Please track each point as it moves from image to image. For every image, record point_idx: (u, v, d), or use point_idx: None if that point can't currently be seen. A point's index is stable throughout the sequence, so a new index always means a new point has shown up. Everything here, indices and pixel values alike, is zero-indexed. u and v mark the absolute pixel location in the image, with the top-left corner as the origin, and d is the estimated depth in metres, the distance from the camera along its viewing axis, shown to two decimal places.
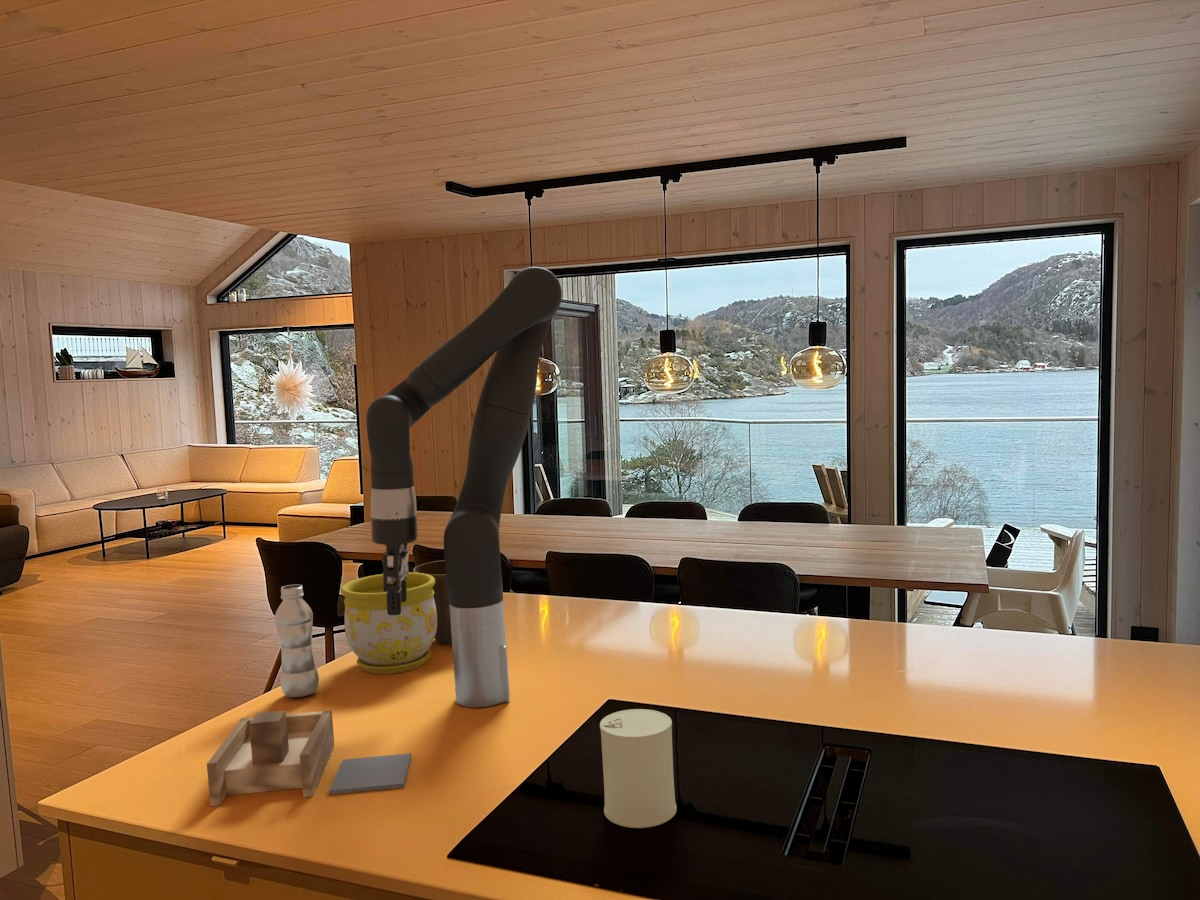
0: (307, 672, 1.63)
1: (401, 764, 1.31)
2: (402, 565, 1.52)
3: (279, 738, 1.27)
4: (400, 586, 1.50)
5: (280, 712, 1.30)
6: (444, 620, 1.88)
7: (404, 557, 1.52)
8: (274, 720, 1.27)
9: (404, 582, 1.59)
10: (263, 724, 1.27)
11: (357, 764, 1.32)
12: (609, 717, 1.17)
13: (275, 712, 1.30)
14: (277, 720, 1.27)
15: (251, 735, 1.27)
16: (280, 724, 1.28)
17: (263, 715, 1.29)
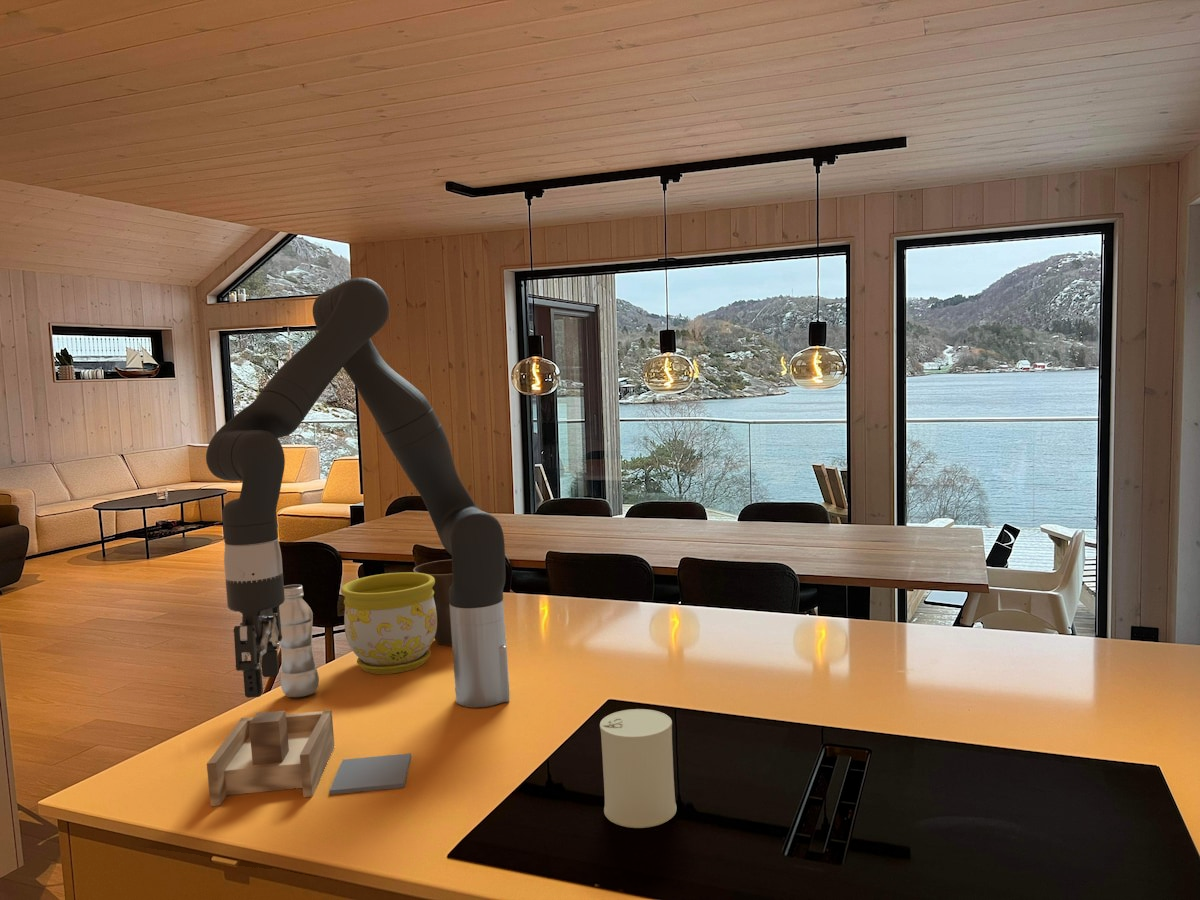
0: (307, 672, 1.63)
1: (401, 764, 1.31)
2: (263, 636, 1.25)
3: (279, 738, 1.27)
4: (259, 662, 1.23)
5: (280, 712, 1.30)
6: (444, 620, 1.88)
7: (266, 625, 1.26)
8: (274, 720, 1.27)
9: (274, 653, 1.32)
10: (263, 724, 1.27)
11: (357, 764, 1.32)
12: (609, 717, 1.17)
13: (275, 712, 1.30)
14: (277, 720, 1.27)
15: (251, 735, 1.27)
16: (280, 724, 1.28)
17: (263, 715, 1.29)
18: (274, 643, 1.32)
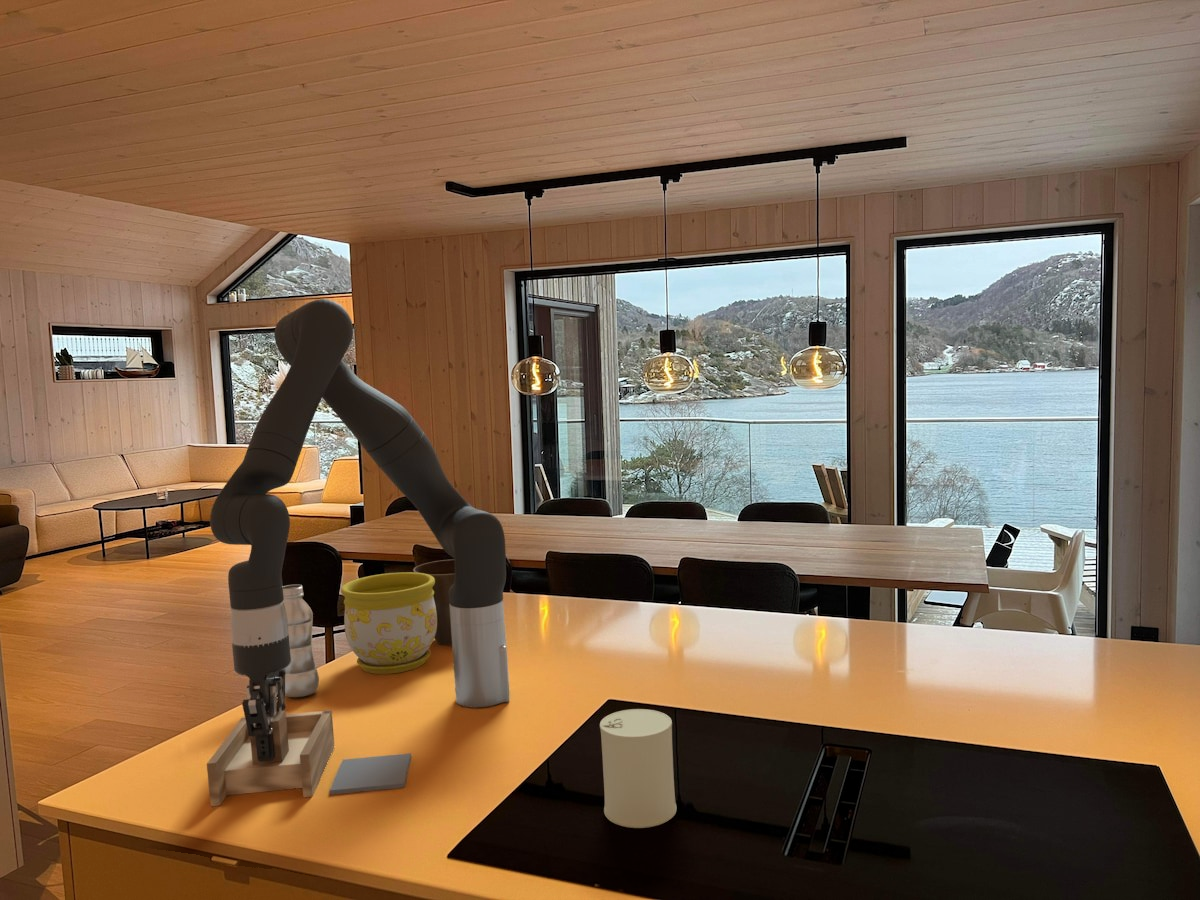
0: (307, 672, 1.63)
1: (401, 764, 1.31)
2: (271, 701, 1.26)
3: (279, 738, 1.27)
4: (271, 728, 1.26)
5: (280, 712, 1.30)
6: (444, 620, 1.88)
7: (273, 690, 1.27)
8: (274, 720, 1.27)
9: None
10: None
11: (357, 764, 1.32)
12: (609, 717, 1.17)
13: None
14: (277, 720, 1.27)
15: None
16: (280, 724, 1.28)
17: None
18: None
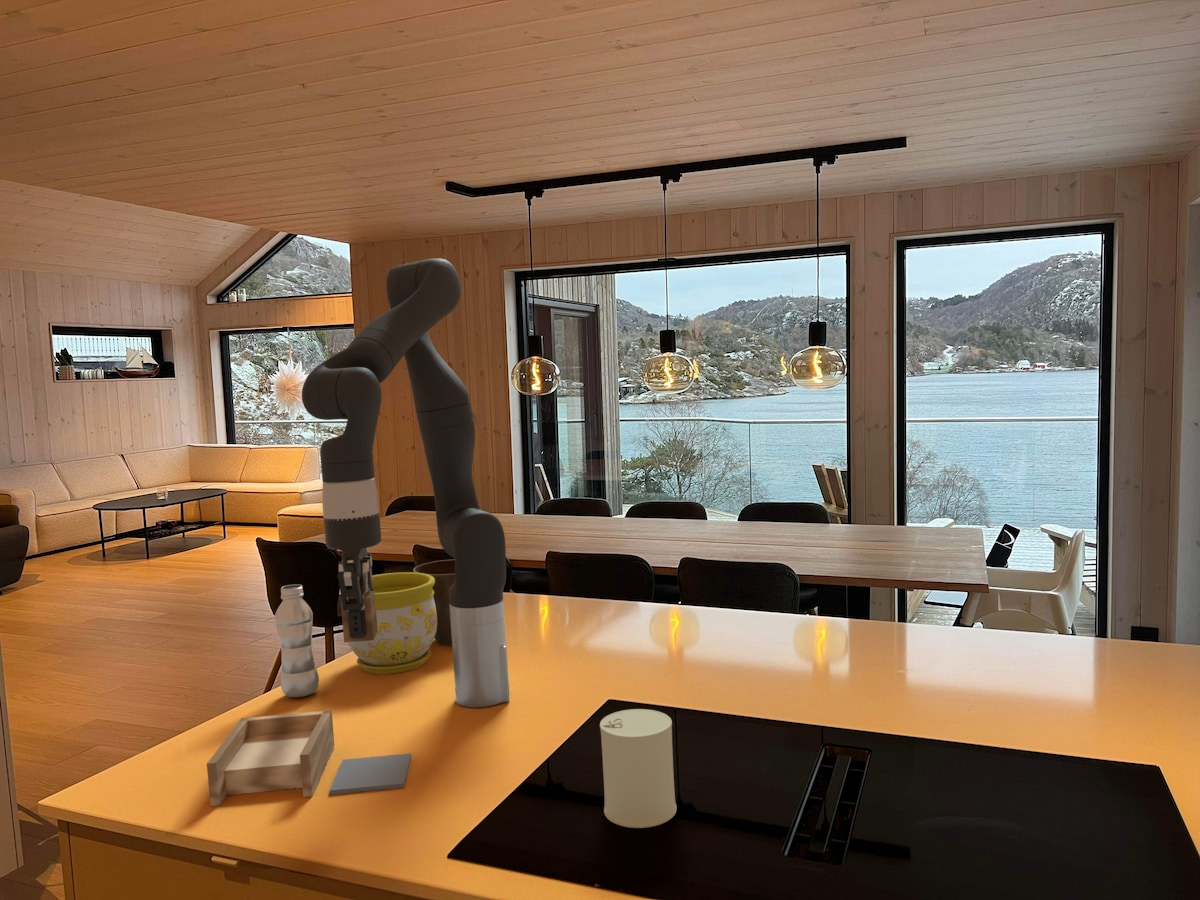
0: (307, 672, 1.63)
1: (401, 764, 1.31)
2: (364, 577, 1.25)
3: (370, 616, 1.26)
4: (363, 604, 1.25)
5: (369, 592, 1.29)
6: (444, 620, 1.88)
7: (365, 566, 1.25)
8: (365, 597, 1.26)
9: None
10: (355, 600, 1.26)
11: (357, 764, 1.32)
12: (609, 717, 1.17)
13: None
14: (368, 597, 1.26)
15: (343, 612, 1.26)
16: (371, 602, 1.27)
17: None
18: (367, 591, 1.30)
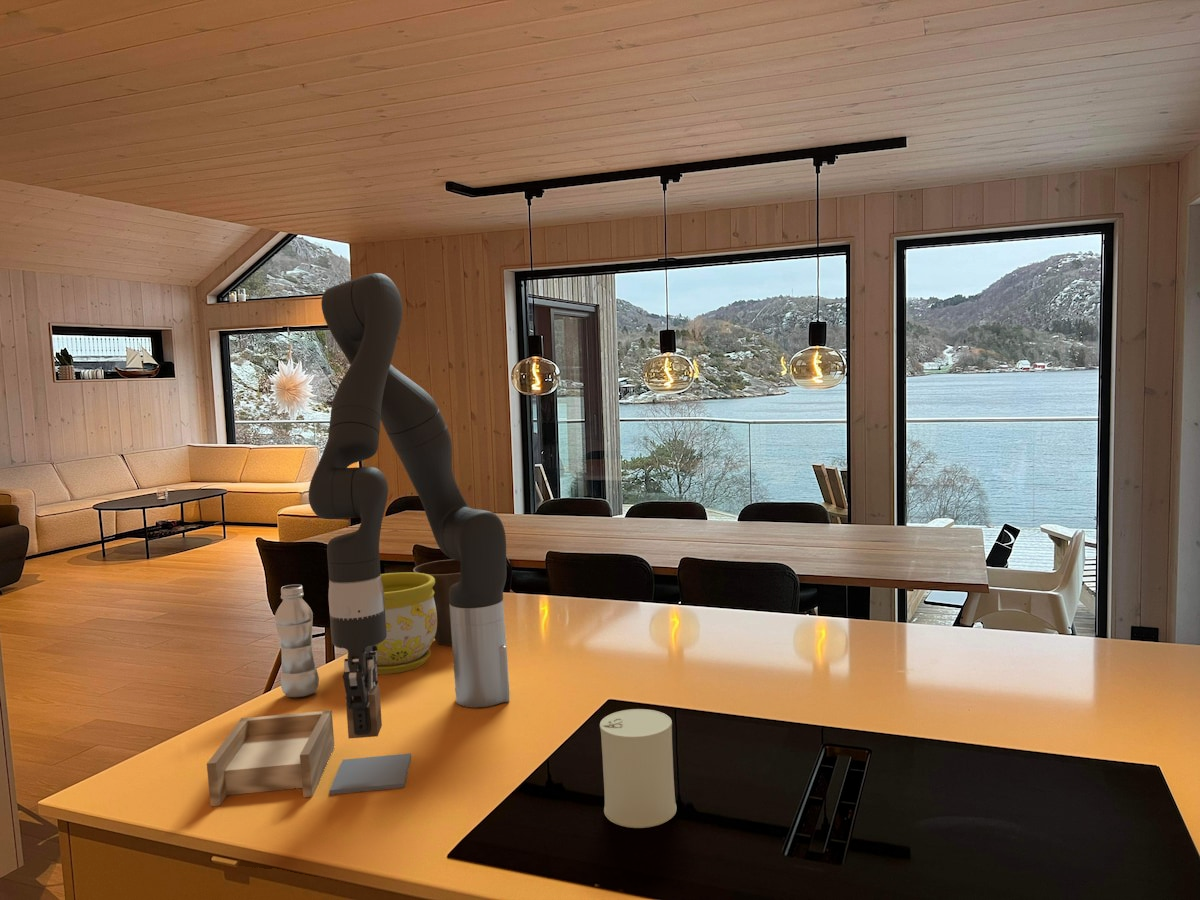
0: (307, 672, 1.63)
1: (401, 764, 1.31)
2: (369, 674, 1.26)
3: (375, 712, 1.27)
4: (368, 701, 1.26)
5: (374, 686, 1.30)
6: (444, 620, 1.88)
7: (371, 663, 1.27)
8: (370, 694, 1.27)
9: None
10: (359, 697, 1.27)
11: (357, 764, 1.32)
12: (609, 717, 1.17)
13: None
14: (373, 694, 1.27)
15: (347, 708, 1.27)
16: (376, 698, 1.28)
17: None
18: (372, 685, 1.31)
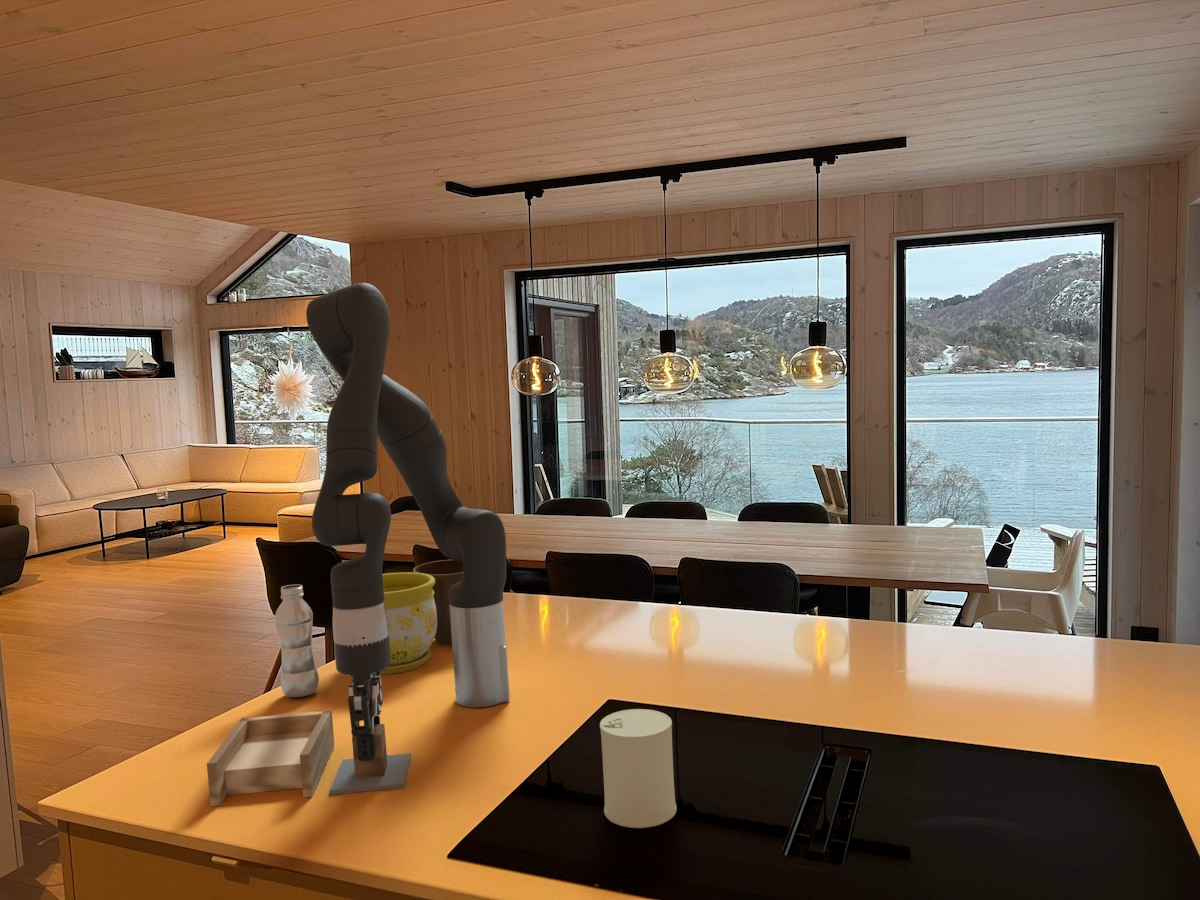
0: (307, 672, 1.63)
1: (401, 764, 1.31)
2: (373, 699, 1.26)
3: (381, 752, 1.28)
4: (372, 727, 1.26)
5: (380, 725, 1.31)
6: (444, 620, 1.88)
7: (375, 689, 1.27)
8: (376, 734, 1.28)
9: (377, 719, 1.32)
10: None
11: None
12: (609, 717, 1.17)
13: (374, 725, 1.31)
14: (379, 734, 1.28)
15: (354, 749, 1.27)
16: (382, 737, 1.28)
17: None
18: (377, 707, 1.32)
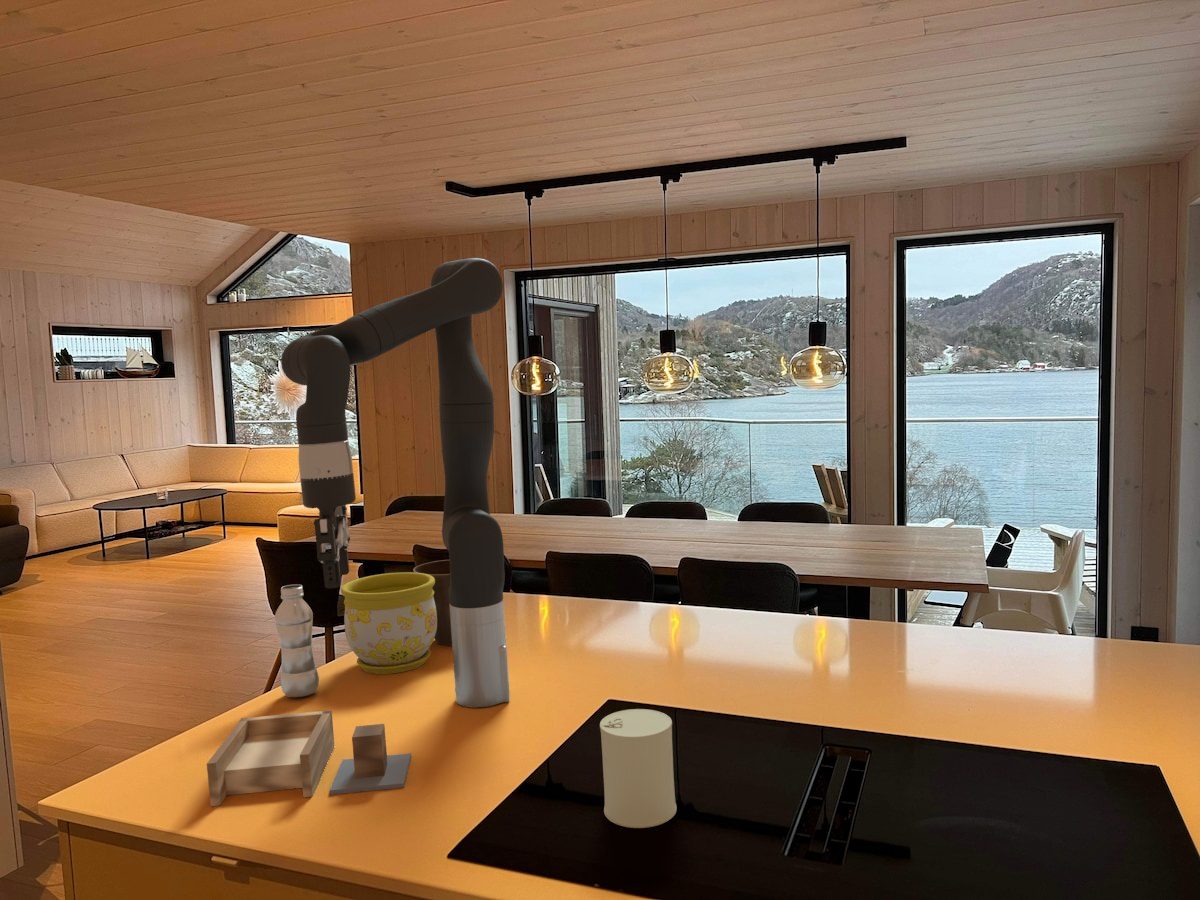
0: (307, 672, 1.63)
1: (401, 764, 1.31)
2: (339, 530, 1.32)
3: (381, 752, 1.28)
4: (338, 554, 1.30)
5: (380, 725, 1.31)
6: (444, 620, 1.88)
7: (341, 521, 1.33)
8: (376, 734, 1.28)
9: (345, 552, 1.39)
10: (366, 737, 1.27)
11: None
12: (609, 717, 1.17)
13: (374, 725, 1.31)
14: (379, 734, 1.28)
15: (354, 749, 1.27)
16: (382, 737, 1.28)
17: (363, 728, 1.30)
18: (345, 542, 1.38)
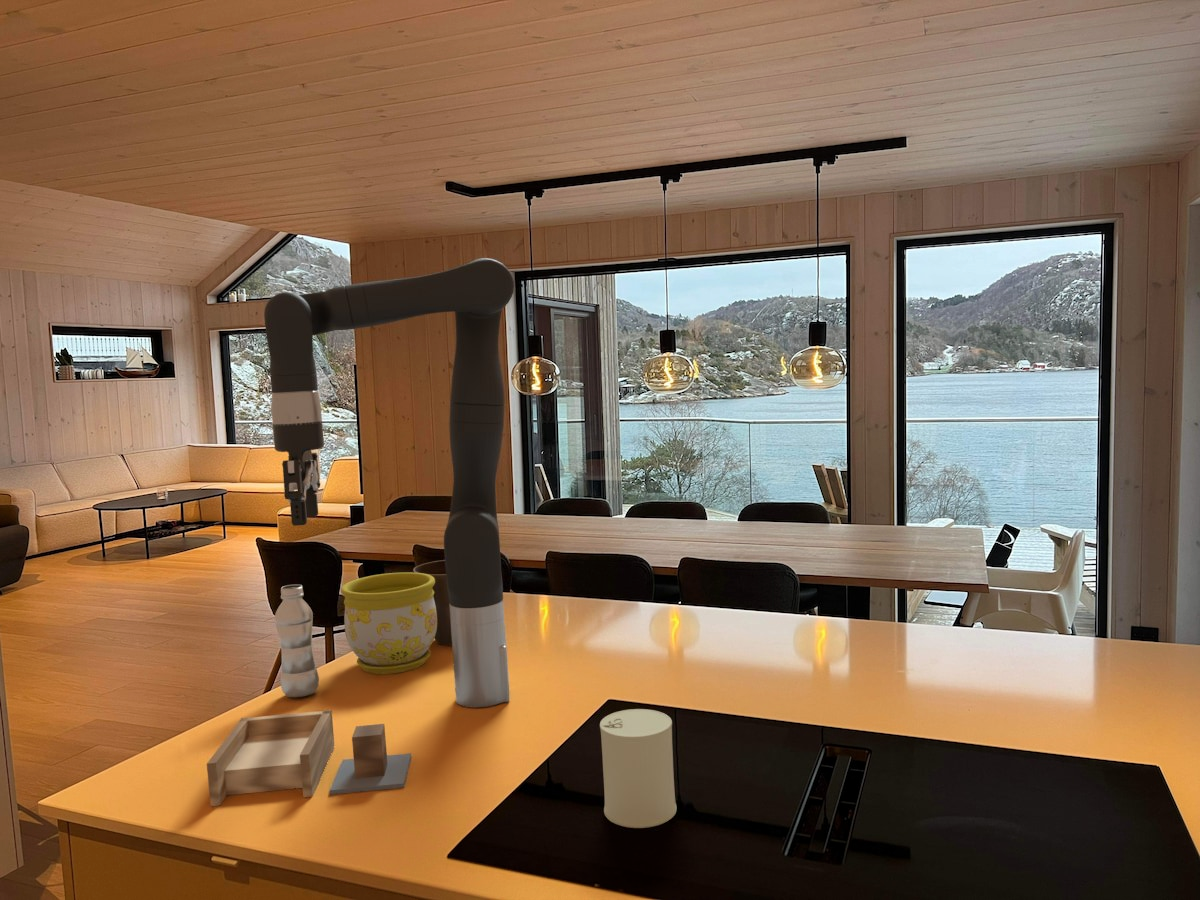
0: (307, 672, 1.63)
1: (401, 764, 1.31)
2: (307, 473, 1.43)
3: (381, 752, 1.28)
4: (304, 494, 1.42)
5: (380, 725, 1.31)
6: (444, 620, 1.88)
7: (309, 465, 1.44)
8: (376, 734, 1.28)
9: (314, 495, 1.50)
10: (366, 737, 1.27)
11: None
12: (609, 717, 1.17)
13: (374, 725, 1.31)
14: (379, 734, 1.28)
15: (354, 749, 1.27)
16: (382, 737, 1.28)
17: (363, 728, 1.30)
18: (314, 486, 1.50)
